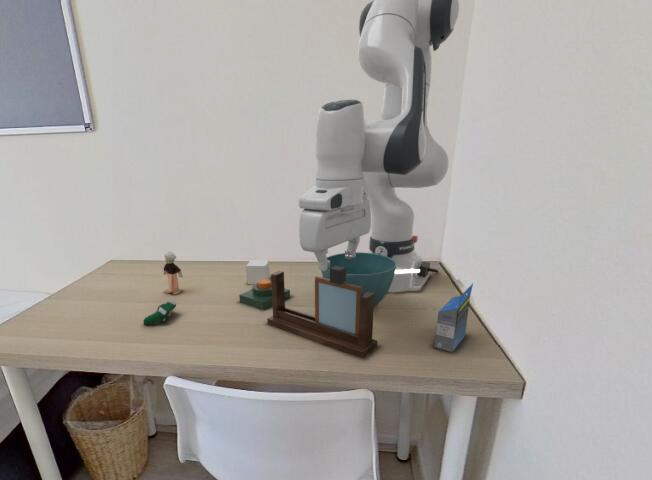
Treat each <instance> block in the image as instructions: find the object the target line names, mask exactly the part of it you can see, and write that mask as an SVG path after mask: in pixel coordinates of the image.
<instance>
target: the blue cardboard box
mask: <svg viewBox="0 0 652 480" xmlns="http://www.w3.org/2000/svg"><path fill="white" fill-rule="evenodd" d="M473 286H474V283H471V284H470V285H469V287H468V288H467V289H466V290H465V291H463V293H462V294H461V295H457V296H454V297H451V298H450V299H449V300H448V301H447V302H446V303H445V304H444V305H443V307H441V309H440V310H439V311H438V313H437V320H436V329H435V337H434V338H435V339H434V345H433V346H434V349H438V350H441V351H446V352H447V353H453V352H454V351H455V350H456V349H457V347H458V346H459V345H460V343H461V342H462V341H463V339H464V338H465V337H466V333H467V331H466V330H467V322H468V316H469V307H470V301H471V300H470V299H471V294H472V290H473Z"/></svg>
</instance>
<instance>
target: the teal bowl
mask: <svg viewBox="0 0 652 480" xmlns="http://www.w3.org/2000/svg"><path fill="white" fill-rule="evenodd" d="M326 257H327V260H329V261H330V268H332V267H334V266H341V267H346V281H345V282H344V283H348V284H352V285H357V286H361V287H362V289H363V294H365V293H367V292H370V293H374V309H375V308H377V306H378V305H379V304H380V303H381V302H382V301H383V299H384V298H385V297H386V295H387V293H389V292H388V290H389V288H390V286H391V284H392V281H393V278H394V274H395V269H396V262H395V261H394V260H393V259H391V258H389V257H387V256H384V255H379V254H374V253H368V252H363V251H362V252H359V251H356V257H355V258H353V259H346V258H345V252H343V253H337V254H333V255H329V256H326ZM320 271H321V277H322V278H326V279H330V269H328V270H326V271H322V270H320Z"/></svg>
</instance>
